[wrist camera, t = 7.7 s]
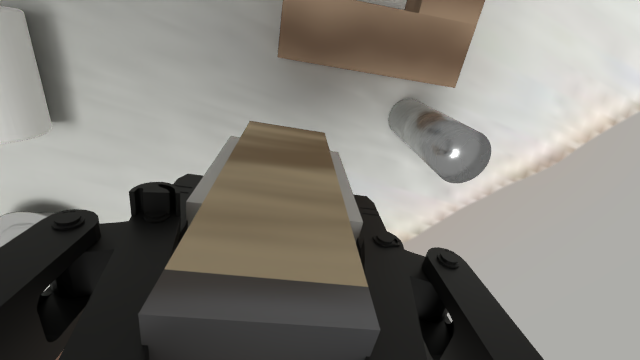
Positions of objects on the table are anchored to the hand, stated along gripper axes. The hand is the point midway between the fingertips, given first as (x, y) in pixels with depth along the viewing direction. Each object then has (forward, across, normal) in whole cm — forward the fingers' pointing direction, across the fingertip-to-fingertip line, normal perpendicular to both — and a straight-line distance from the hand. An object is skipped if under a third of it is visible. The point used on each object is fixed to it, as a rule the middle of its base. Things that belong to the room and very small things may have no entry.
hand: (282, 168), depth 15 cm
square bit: (+1, 0, 0) cm, 1 cm away
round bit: (+16, +12, +1) cm, 21 cm away
